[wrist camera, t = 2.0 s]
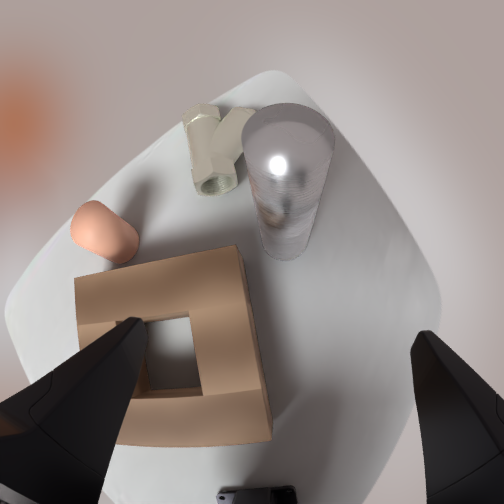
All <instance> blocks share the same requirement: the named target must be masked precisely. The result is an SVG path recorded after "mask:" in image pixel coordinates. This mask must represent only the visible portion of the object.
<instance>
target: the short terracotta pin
mask: <svg viewBox="0 0 504 504" xmlns="http://www.w3.org/2000/svg"><path fill="white" fill-rule="evenodd" d="M70 232H71V237H72V239H73V241H74V242H75V243H76V244H77V245H79V246H81V247H83V248H85V249H87V250H89V251H91V252H93V253H95V254H97V255H100V256H102V257H104V258H106V259H108V260H110V261H112V262H114V263H118V264H121V263H125V262H127V261H129V260H130V259H132V258H133V256H134V255H135V254H136V252H137V250H138V247H139V235H138V233H137V231H136V230H135V229H134V228H133V227H132V226H131V225H129V224H128V223H127V222H125V221H124V220H123V219H122V218H120V217H119V216H118V215H116V214H115V213H114V212H113V211H111V210H110V209H109V208H107V207H106V206H105V205H104V204H102V203H101V202H99V201H95V200H93V201H89V202H86V203H85V204H83V205H82V206H81V207H80V208H79V209H78V210H77V211H76V213H75V215H74V217H73V219H72V222H71V228H70Z"/></svg>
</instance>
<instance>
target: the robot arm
mask: <svg viewBox="0 0 504 504" xmlns="http://www.w3.org/2000/svg"><path fill="white" fill-rule="evenodd" d="M147 343H148V334H147V331H146V328H145V325H144V322H143V320H142V319H141V318H140V317H133V316H130V317H128V318H127V319H125V320H124V321H122V322H121V323H119V324H118V325H116V326H115V327H114V328H112V329H111V330H109V331H108V332H106V333H105V334H103V335H102V336H101V337H99V338H98V339H96V340H95V341H93V342H92V343H90V344H89V345H88V346H86V347H85V348H83V349H82V350H80V351H79V352H78V353H76V354H75V355H73V356H72V357H70V358H69V359H68V360H66V361H65V362H63V363H62V364H61V365H59V366H58V367H56V368H55V369H54V370H53V371H51V372H49V373H48V374H46V375H45V376H43V377H42V378H40V379H39V380H38V381H36V382H35V383H33V384H31V385H30V386H28V387H26V388H25V389H23V390H21V391H20V392H18V393H16V394H15V395H13V396H11V397H9V398H8V399H6V400H4V401H3V402H1V403H0V504H98V500H99V497H100V494H101V490H102V487H103V483H104V480H105V479H104V478H105V476H106V473H107V469H108V466H109V463H110V460H111V456H112V453H113V450H114V447H115V444H116V441H117V438H118V435H119V432H120V429H121V426H122V423H123V420H124V417H125V414H126V412H127V409H128V406H129V403H130V400H131V398H132V395H133V392H134V389H135V387H136V384H137V381H138V378H139V374H140V370H141V366H142V362H143V358H144V354H145V351H146V347H147ZM410 356H411V364H412V374H413V385H414V394H415V400H416V406H417V412H418V417H419V424H420V431H421V438H422V446H423V455H424V465H425V478H426V492H427V493H426V495H427V504H504V400H503V399H502V398H501V397H500V396H499V394H496V392H495V391H494V390H493V389H492V388H491V387H490V386H489V385H488V384H487V383H486V382H485V381H484V380H483V379H482V378H481V377H480V376H479V375H478V374H477V373H476V372H475V371H474V370H473V369H472V368H471V367H470V366H469V365H468V364H467V363H466V362H465V361H464V360H462V358H460V357H459V356H458V355H457V354H456V353H455V352H454V351H453V350H452V349H451V348H450V347H449V346H448V345H446V344H445V343H444V342H443V341H442V340H441V339H440V338H439V337H438V336H437V335H436V334H434V333H433V332H432V331H430V330H426V331H420V332H419V333H418V335H417V337H416V339H415V341H414V343H413V345H412V347H411V351H410ZM287 490H291V492H287ZM220 496H224V497H225V498H221V497H220ZM216 499H217V502H218V504H298V501H297V496H296V490H295V487H293V486H283V487H275V488H258V489H246V490H238V491H226V492H219V493H218V494H217V496H216Z"/></svg>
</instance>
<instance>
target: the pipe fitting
mask: <svg viewBox="0 0 504 504" xmlns="http://www.w3.org/2000/svg"><path fill="white" fill-rule="evenodd" d="M254 113H256V111H255V110H253V109H248V108H242V107H234V108H233V109H231V111H230V112H229V113H228V114H227V115H226V116H225V117H224V118H223V119H222V121H221V117H220V113H219V109H218V107H217V106H214V105H209V104H197V105H195V106H193V107H191V108H190V109H189V110H188V111H186V112H185V113H184V114H183V115H182V119H183V125H184V129H185V132H186V135H187V140H188V146H189V151H190V157H191V162H192V168H193V169H192V170H191V171H192V177H193V182H194V186H195V188H196V191H197V193H198V195H201V196H218V195H222V194H225V193H227V192H229V191H231V190H232V189H234V188H235V187H236V186H237V185H238V182H237V175H236V170H235V167H234V163H235V162H236V161H237V159H238V158H239V157H240V155H241V154H242V153H243V147H242V142H241V134H242V130H243V127H244V125H245V123H246V122H247V120H248V119H249V118H250V117H251V116H252V115H253V114H254Z"/></svg>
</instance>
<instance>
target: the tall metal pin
mask: <svg viewBox="0 0 504 504" xmlns="http://www.w3.org/2000/svg"><path fill="white" fill-rule="evenodd" d="M241 142H242V147H243V152H244V157H245V161H246V166H247V171H248V176H249V180H250V185H251V190H252V195H253V200H254V205H255V209H256V214H257V219H258V224H259V229H260V234H261V239H262V244H263V247H264V249H265V251H266V252H267V253H268V254H269V255H270V256H271V257H273V258H275V259H277V260H281V261H289V260H293V259H295V258H297V257H299V256H300V255H301V254H302V253H303V252H304V250H305V248H306V246H307V242H308V239H309V236H310V233H311V229H312V226H313V222H314V219H315V216H316V212H317V209H318V205H319V202H320V198H321V195H322V191H323V188H324V184H325V180H326V177H327V173H328V169H329V165H330V162H331V158H332V154H333V150H334V145H335V136H334V132H333V129H332V127H331V125H330V124H329V122H328V121H327V120H326V119H325V118H324V117H323V116H322V115H321V114H320V113H318V112H317V111H315V110H313V109H311V108H309V107H306V106H303V105H299V104H294V103H279V104H274V105H270V106H267V107H264V108H262V109H260V110H259V111H257V112H256V113H254V114H253V115H252V116H251V117H250V118H249V119H248V120H247V122H246V123H245V125H244V127H243V130H242V134H241Z"/></svg>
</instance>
